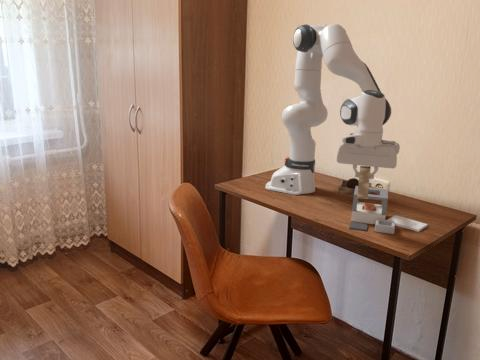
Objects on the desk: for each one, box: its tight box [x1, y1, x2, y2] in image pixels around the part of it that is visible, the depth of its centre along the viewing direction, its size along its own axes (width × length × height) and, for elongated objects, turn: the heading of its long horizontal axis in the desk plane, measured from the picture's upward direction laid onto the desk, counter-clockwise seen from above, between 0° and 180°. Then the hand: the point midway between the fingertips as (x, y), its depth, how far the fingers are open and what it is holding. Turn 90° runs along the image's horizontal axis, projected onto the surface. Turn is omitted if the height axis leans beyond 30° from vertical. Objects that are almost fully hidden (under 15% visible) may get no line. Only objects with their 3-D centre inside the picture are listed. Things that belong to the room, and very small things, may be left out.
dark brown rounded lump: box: [345, 177, 359, 189], centre depth 210 cm, size 8×8×7 cm
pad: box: [349, 221, 368, 232], centre depth 168 cm, size 6×6×1 cm
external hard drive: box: [386, 214, 429, 233], centre depth 173 cm, size 2×8×12 cm
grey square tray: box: [374, 219, 396, 235], centre depth 167 cm, size 6×6×2 cm
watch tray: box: [337, 179, 372, 196], centre depth 213 cm, size 14×14×2 cm
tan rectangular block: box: [357, 165, 372, 200], centre depth 164 cm, size 4×4×11 cm
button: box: [364, 202, 375, 211], centre depth 177 cm, size 4×4×4 cm
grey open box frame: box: [350, 186, 389, 225], centre depth 176 cm, size 12×12×10 cm
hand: (364, 177), depth 163 cm, fingers closed on tan rectangular block, 3 cm apart
